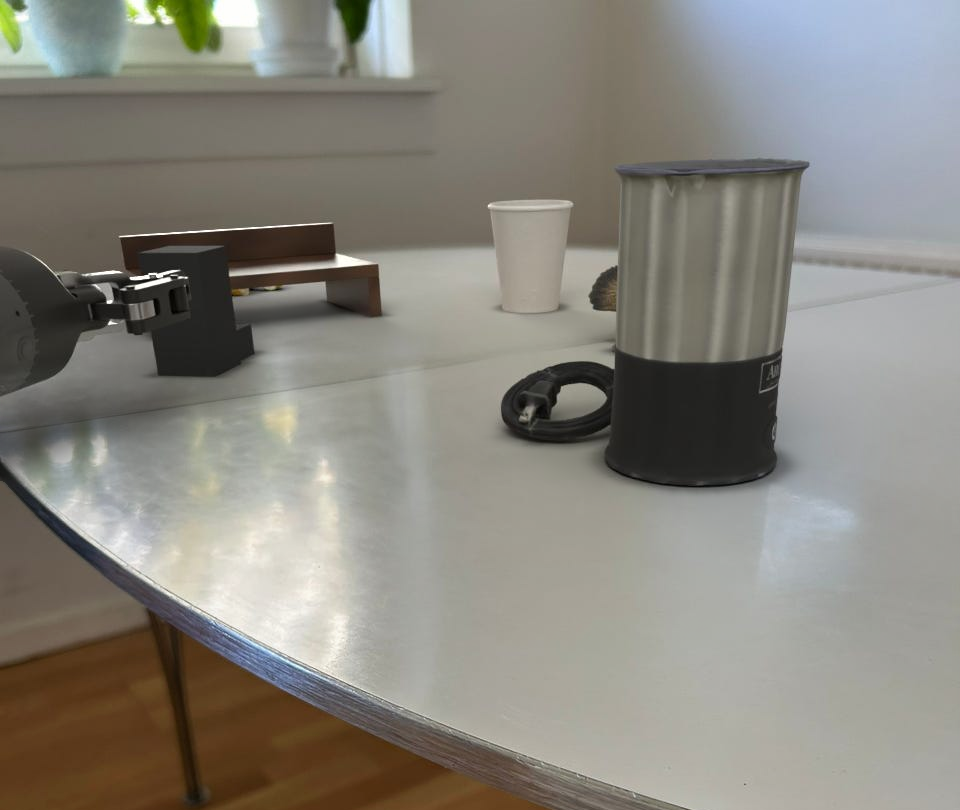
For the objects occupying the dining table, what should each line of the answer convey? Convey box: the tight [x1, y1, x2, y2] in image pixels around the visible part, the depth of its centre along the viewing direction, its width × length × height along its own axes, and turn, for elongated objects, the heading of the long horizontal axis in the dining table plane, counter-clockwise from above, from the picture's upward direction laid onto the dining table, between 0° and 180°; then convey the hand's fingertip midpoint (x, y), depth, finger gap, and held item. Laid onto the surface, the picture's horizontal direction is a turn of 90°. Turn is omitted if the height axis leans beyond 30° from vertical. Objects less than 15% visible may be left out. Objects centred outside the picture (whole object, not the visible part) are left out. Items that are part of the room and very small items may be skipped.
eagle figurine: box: [587, 264, 618, 353], centre depth 82 cm, size 8×7×9 cm
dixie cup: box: [487, 199, 574, 314], centre depth 99 cm, size 8×8×10 cm
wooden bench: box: [118, 222, 383, 334], centre depth 99 cm, size 22×13×8 cm, turn 117°
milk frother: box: [500, 157, 811, 487], centre depth 53 cm, size 14×16×15 cm
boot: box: [138, 246, 256, 378], centre depth 78 cm, size 9×5×9 cm, turn 168°
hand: (124, 286), depth 68 cm, fingers open, 8 cm apart
